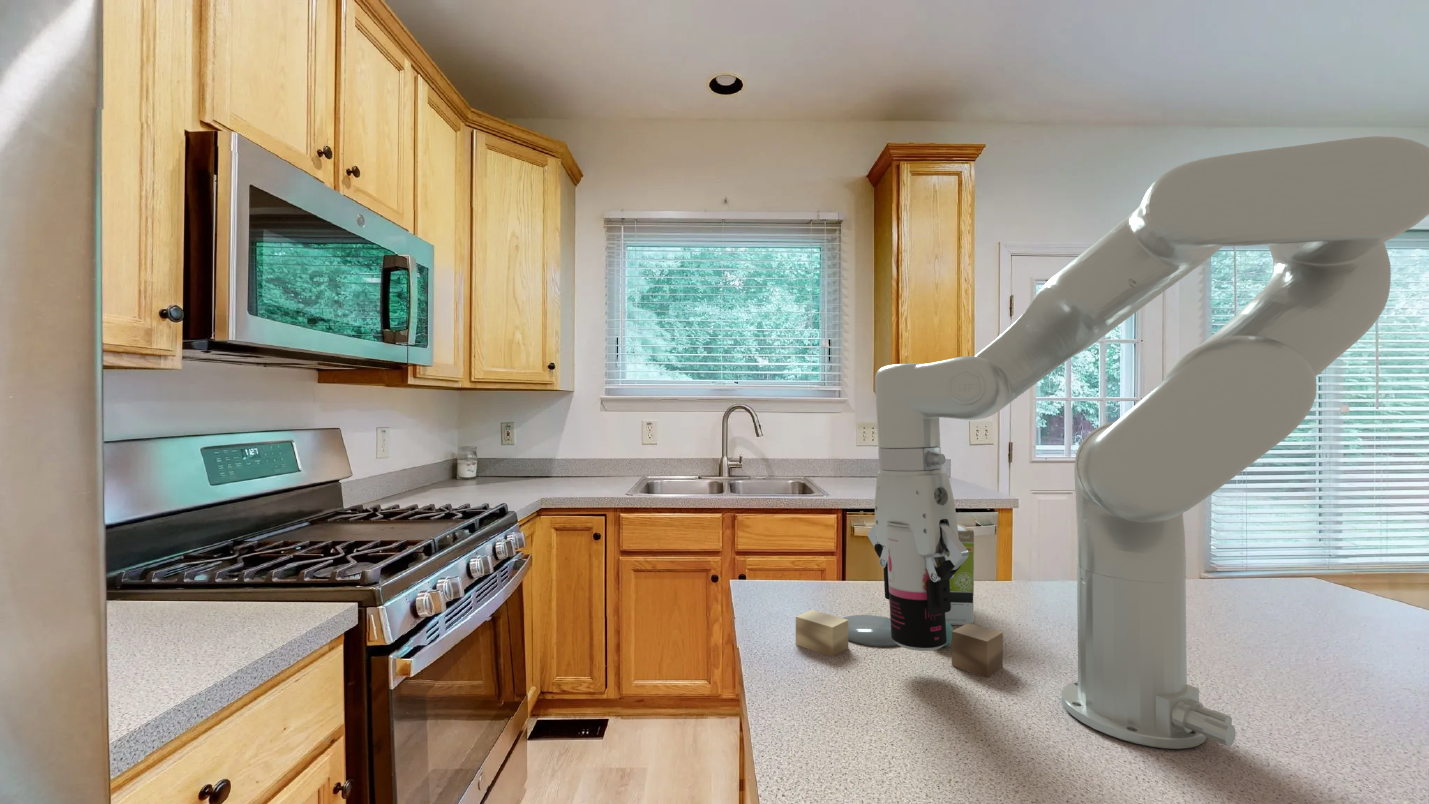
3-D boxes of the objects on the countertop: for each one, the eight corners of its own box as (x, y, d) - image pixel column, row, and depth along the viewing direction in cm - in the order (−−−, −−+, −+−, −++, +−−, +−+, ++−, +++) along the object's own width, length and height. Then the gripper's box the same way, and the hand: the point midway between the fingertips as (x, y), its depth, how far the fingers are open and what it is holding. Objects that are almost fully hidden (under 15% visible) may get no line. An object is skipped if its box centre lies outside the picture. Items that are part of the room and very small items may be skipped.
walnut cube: (1002, 668, 75) (1002, 632, 75) (987, 678, 72) (987, 641, 72) (968, 656, 78) (968, 623, 78) (951, 666, 75) (951, 631, 75)
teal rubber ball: (959, 647, 81) (959, 621, 81) (940, 652, 79) (940, 625, 80) (939, 638, 84) (939, 613, 84) (920, 643, 83) (920, 617, 83)
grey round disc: (928, 638, 84) (928, 634, 84) (869, 652, 79) (869, 647, 79) (875, 614, 94) (875, 611, 94) (820, 625, 89) (820, 621, 89)
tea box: (976, 626, 89) (976, 529, 90) (910, 625, 90) (910, 528, 90) (940, 595, 104) (940, 512, 105) (883, 595, 105) (883, 512, 105)
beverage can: (952, 653, 69) (945, 525, 70) (895, 651, 71) (889, 526, 71) (940, 633, 76) (934, 516, 77) (888, 632, 77) (882, 517, 78)
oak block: (848, 649, 81) (848, 619, 81) (832, 657, 78) (832, 627, 78) (811, 637, 85) (811, 609, 85) (795, 645, 82) (795, 616, 82)
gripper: (989, 462, 68) (997, 618, 67) (884, 457, 84) (890, 584, 83) (942, 466, 65) (951, 631, 64) (842, 460, 80) (848, 593, 80)
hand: (916, 603), depth 73 cm, fingers closed on beverage can, 6 cm apart
